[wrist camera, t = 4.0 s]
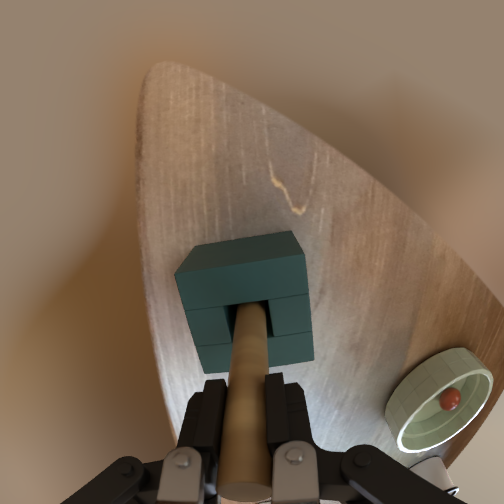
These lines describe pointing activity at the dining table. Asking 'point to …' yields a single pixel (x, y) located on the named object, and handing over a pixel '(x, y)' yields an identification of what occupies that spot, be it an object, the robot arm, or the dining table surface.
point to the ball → (449, 399)
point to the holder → (247, 297)
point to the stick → (246, 412)
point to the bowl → (437, 400)
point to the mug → (435, 474)
